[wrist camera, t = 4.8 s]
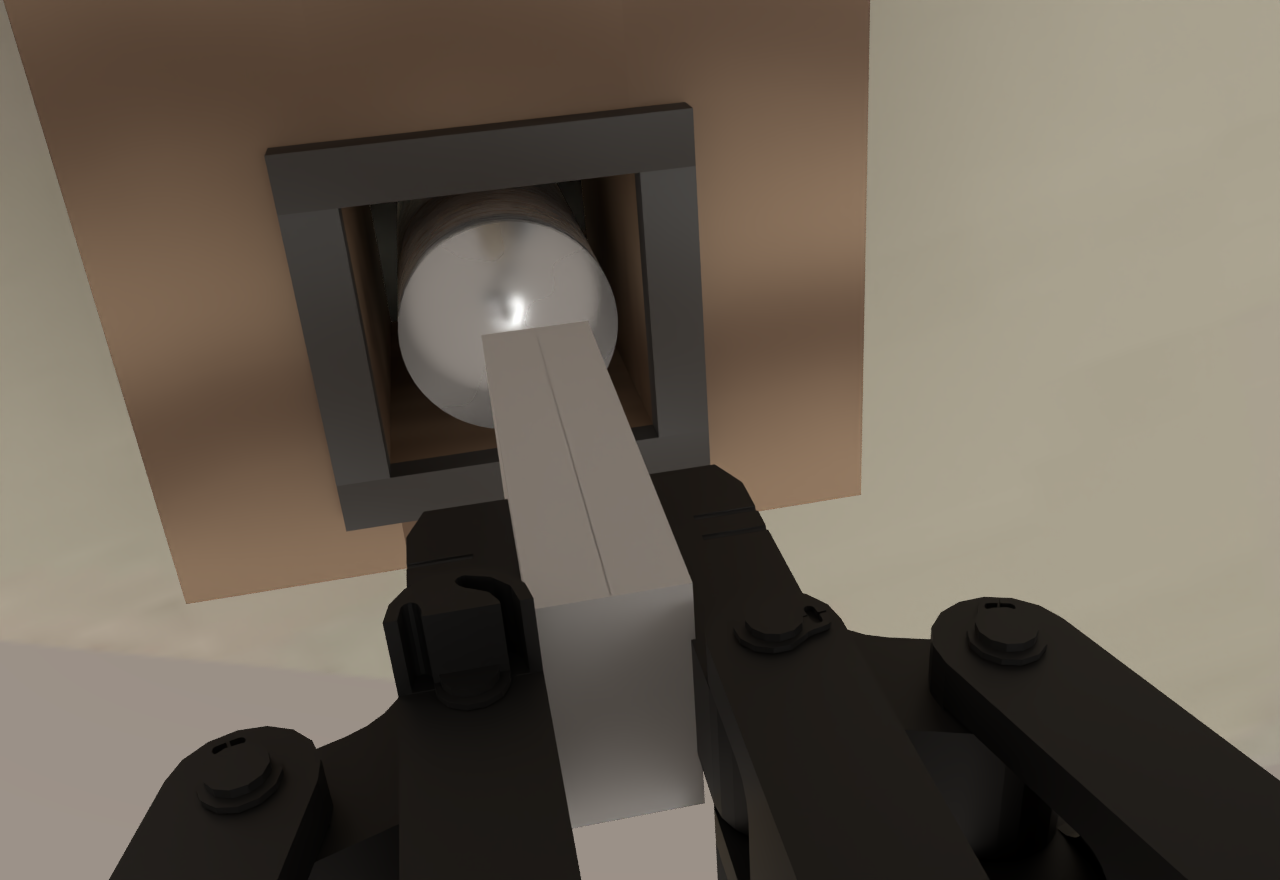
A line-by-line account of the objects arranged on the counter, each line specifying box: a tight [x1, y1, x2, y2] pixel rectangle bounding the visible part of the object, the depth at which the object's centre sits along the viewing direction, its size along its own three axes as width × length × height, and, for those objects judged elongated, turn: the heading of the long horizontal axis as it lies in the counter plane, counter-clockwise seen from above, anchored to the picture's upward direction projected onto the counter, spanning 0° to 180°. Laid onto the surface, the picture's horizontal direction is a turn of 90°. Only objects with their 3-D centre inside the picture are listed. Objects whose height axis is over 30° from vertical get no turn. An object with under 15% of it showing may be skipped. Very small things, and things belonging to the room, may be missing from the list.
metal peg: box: [397, 183, 618, 429], centre depth 24 cm, size 4×4×8 cm
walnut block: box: [4, 0, 870, 604], centre depth 22 cm, size 20×14×9 cm
